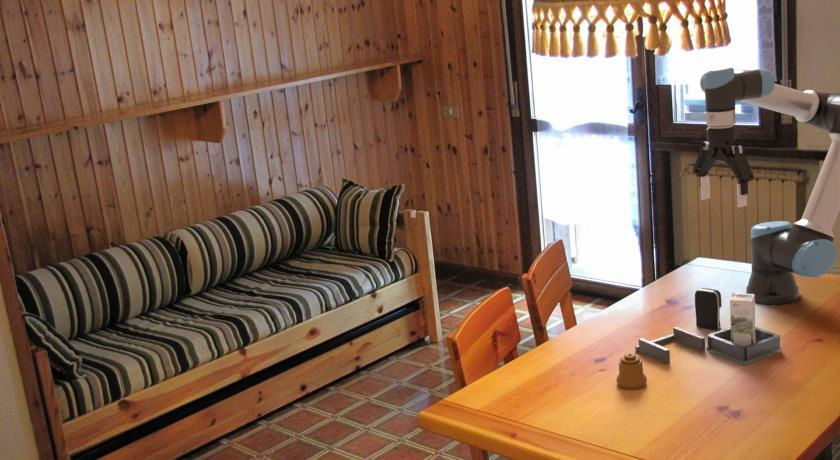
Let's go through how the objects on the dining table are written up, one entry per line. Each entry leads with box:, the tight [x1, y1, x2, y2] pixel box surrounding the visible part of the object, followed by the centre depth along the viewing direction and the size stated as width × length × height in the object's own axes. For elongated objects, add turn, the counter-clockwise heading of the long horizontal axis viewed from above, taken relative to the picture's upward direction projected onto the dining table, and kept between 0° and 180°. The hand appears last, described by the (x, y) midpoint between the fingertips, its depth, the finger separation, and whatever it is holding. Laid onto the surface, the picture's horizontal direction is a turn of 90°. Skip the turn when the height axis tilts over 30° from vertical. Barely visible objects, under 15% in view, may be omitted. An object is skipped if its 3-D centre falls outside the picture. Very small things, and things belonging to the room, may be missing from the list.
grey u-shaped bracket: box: [634, 326, 706, 365], centre depth 253 cm, size 13×13×4 cm
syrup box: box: [729, 292, 756, 347], centre depth 246 cm, size 6×6×14 cm
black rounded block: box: [694, 287, 723, 331], centre depth 266 cm, size 7×4×11 cm, turn 46°
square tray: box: [705, 326, 783, 366], centre depth 247 cm, size 13×13×4 cm
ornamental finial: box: [616, 353, 648, 390], centre depth 235 cm, size 8×8×8 cm
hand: (723, 202), depth 256 cm, fingers open, 13 cm apart
